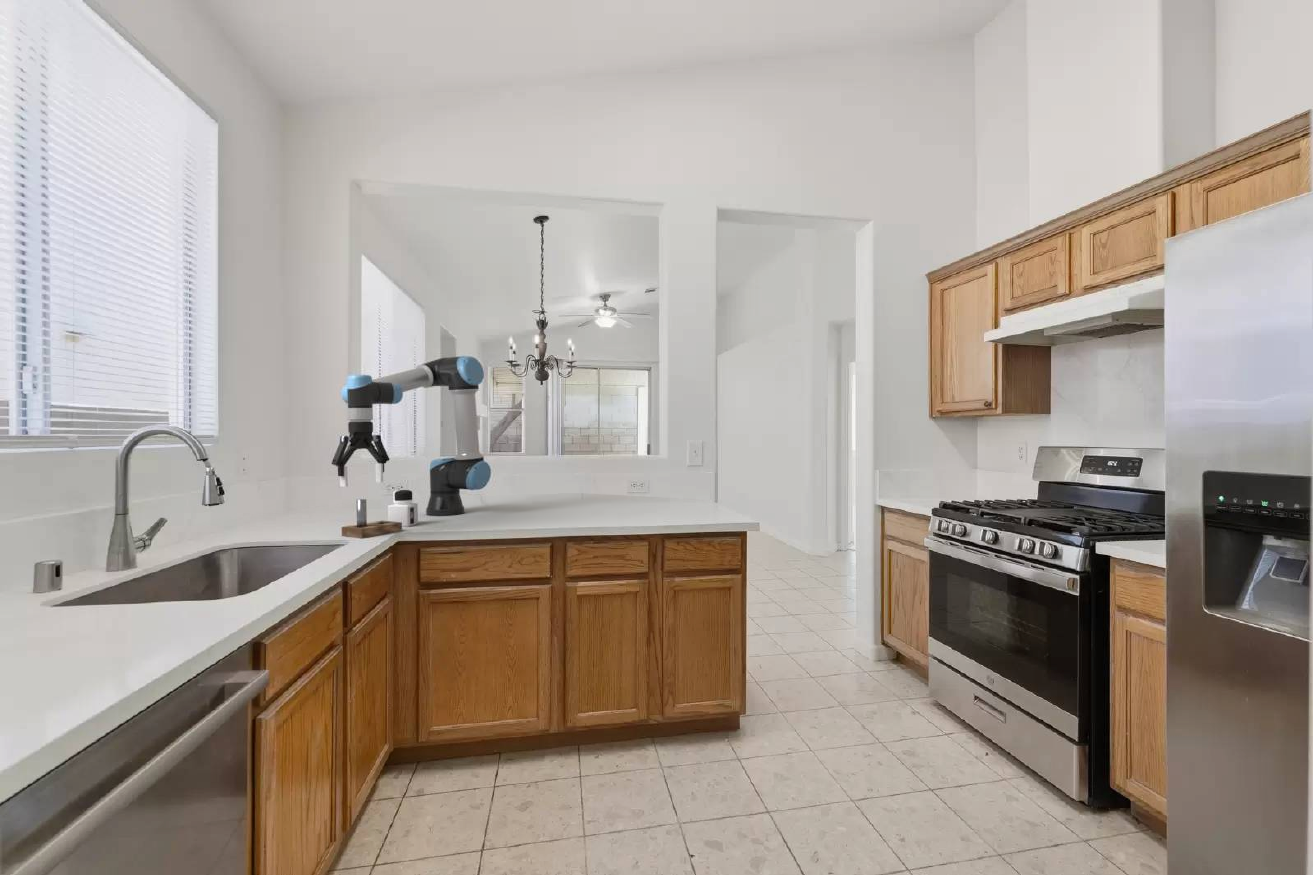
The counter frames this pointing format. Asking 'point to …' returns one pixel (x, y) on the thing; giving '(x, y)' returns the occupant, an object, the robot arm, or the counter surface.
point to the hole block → (372, 529)
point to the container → (403, 509)
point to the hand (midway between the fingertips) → (362, 484)
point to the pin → (361, 513)
